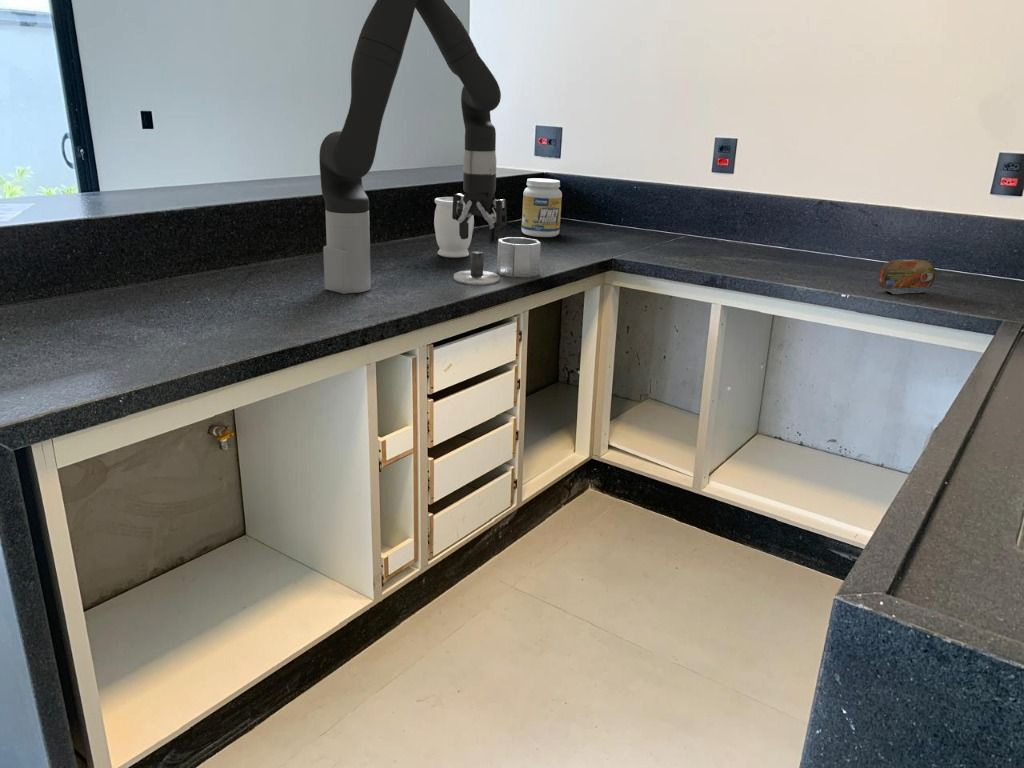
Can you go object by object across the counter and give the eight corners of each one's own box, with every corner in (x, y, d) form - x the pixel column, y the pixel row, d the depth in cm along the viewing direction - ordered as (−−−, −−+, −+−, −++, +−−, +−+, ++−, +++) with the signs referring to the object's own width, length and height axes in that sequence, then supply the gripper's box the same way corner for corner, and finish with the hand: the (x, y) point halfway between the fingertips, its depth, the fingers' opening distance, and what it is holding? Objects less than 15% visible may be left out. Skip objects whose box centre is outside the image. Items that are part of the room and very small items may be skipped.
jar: (475, 252, 220) (476, 197, 214) (469, 260, 210) (471, 202, 205) (437, 250, 221) (438, 195, 215) (430, 257, 211) (431, 200, 206)
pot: (522, 279, 192) (524, 246, 189) (489, 272, 197) (491, 240, 194) (545, 273, 199) (547, 241, 197) (513, 266, 205) (514, 235, 202)
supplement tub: (533, 238, 244) (536, 182, 238) (514, 231, 254) (516, 177, 248) (566, 236, 250) (570, 182, 244) (546, 230, 260) (549, 177, 254)
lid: (480, 288, 183) (481, 259, 180) (444, 280, 189) (444, 252, 186) (508, 280, 191) (509, 253, 189) (472, 273, 197) (473, 246, 195)
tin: (881, 295, 194) (889, 261, 191) (873, 291, 197) (880, 258, 194) (932, 293, 198) (940, 260, 195) (922, 290, 201) (930, 257, 198)
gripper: (445, 169, 182) (445, 239, 188) (495, 175, 174) (493, 248, 180) (465, 167, 188) (464, 235, 194) (514, 172, 180) (512, 243, 186)
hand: (478, 241), depth 187 cm, fingers open, 8 cm apart
